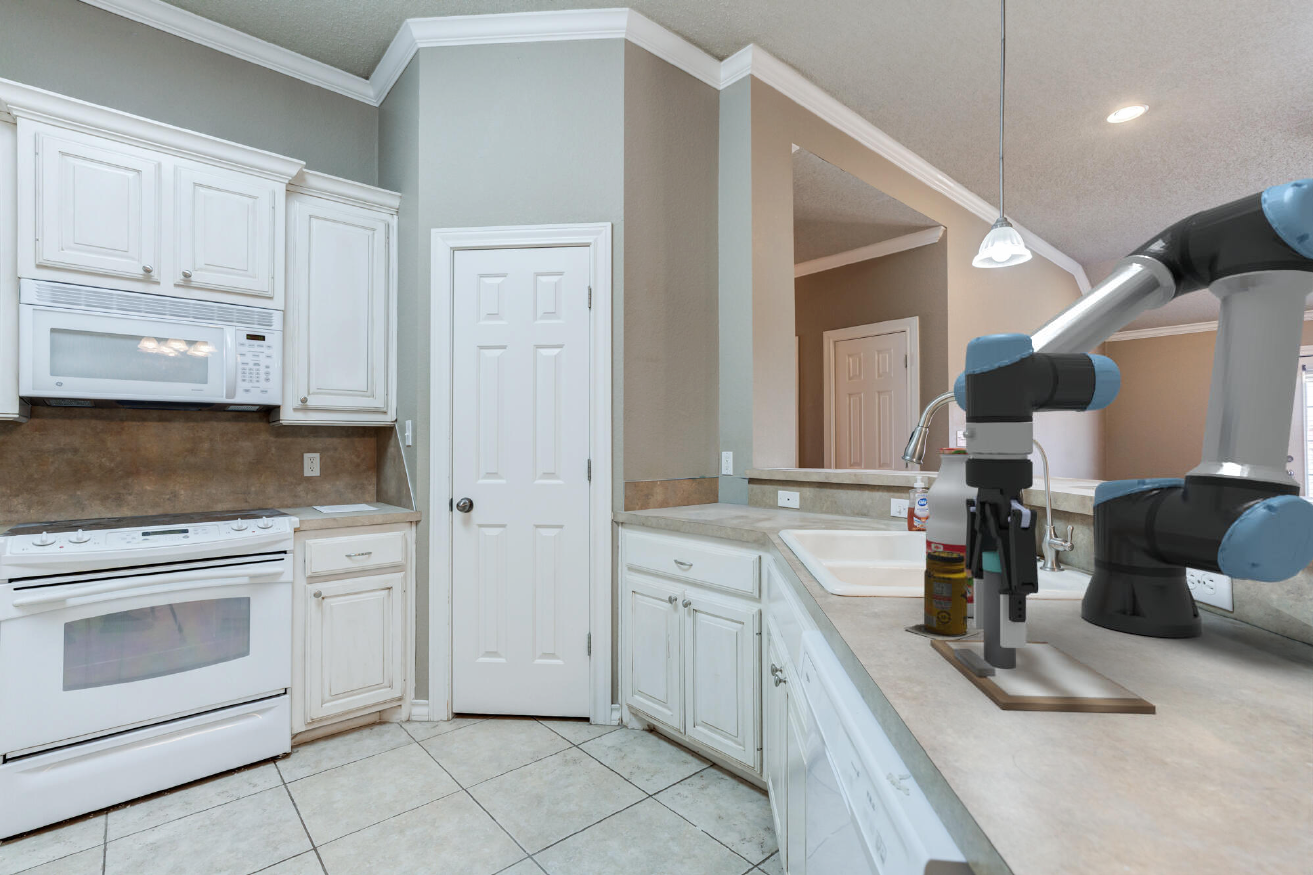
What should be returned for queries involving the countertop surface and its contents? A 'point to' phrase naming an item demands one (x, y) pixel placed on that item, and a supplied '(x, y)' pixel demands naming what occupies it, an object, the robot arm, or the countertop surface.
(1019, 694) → the clipboard
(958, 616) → the condiment
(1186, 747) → the countertop surface
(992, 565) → the marker
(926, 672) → the countertop surface
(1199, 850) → the countertop surface
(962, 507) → the fruit juice
